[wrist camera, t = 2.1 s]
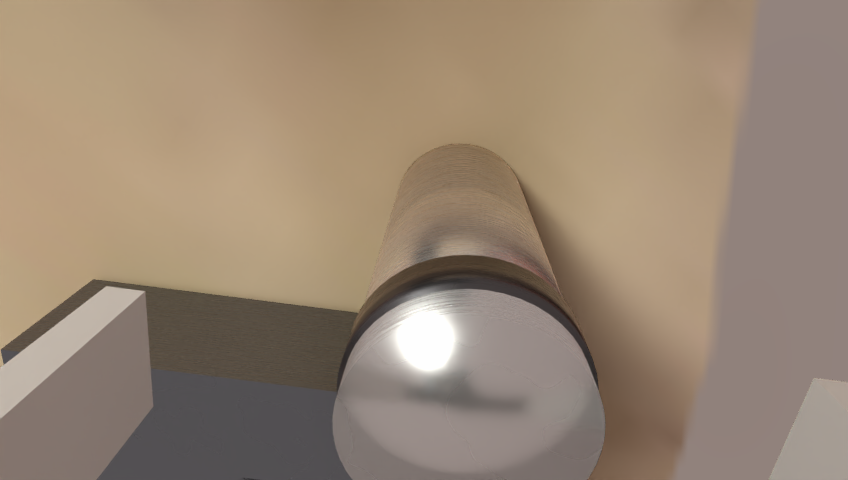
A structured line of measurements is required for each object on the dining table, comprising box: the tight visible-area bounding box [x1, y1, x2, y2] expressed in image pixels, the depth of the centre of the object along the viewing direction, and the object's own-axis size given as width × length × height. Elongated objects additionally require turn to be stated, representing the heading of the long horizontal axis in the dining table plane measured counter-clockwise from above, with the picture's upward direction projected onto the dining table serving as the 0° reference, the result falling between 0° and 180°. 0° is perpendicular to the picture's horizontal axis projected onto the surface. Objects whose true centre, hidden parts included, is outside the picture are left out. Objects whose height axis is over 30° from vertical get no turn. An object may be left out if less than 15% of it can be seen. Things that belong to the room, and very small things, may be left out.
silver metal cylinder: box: [332, 144, 605, 480], centre depth 15 cm, size 5×5×12 cm
